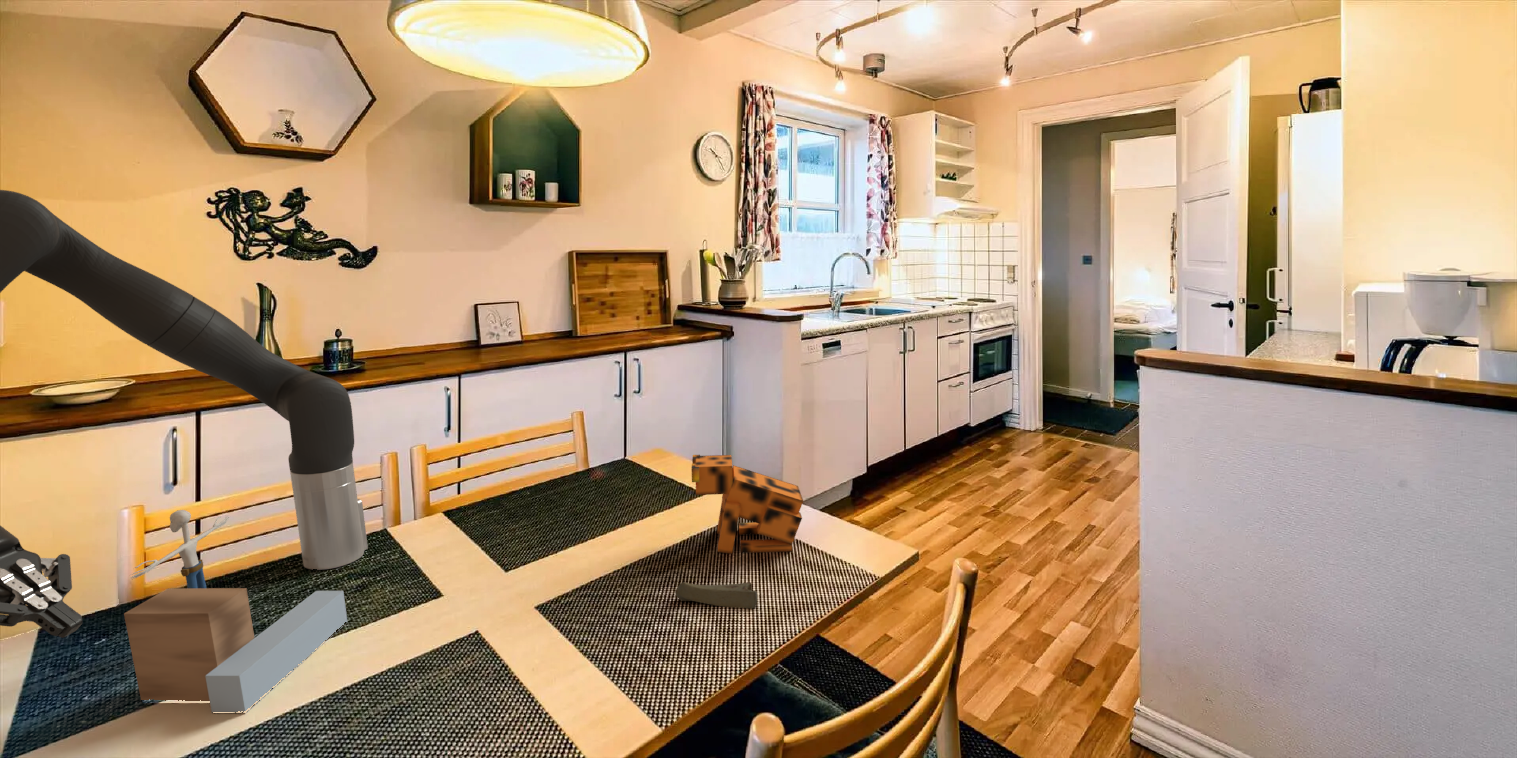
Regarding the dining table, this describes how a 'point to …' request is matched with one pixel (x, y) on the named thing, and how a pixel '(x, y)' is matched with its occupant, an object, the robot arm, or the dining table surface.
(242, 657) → the blue-gray rectangular bar
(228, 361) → the robot arm
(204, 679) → the walnut block
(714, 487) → the toy animal
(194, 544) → the alien figure
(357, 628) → the dining table surface
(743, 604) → the grey long curved piece
